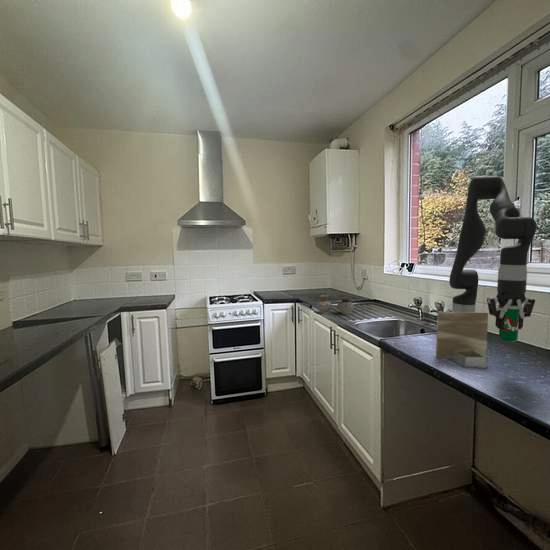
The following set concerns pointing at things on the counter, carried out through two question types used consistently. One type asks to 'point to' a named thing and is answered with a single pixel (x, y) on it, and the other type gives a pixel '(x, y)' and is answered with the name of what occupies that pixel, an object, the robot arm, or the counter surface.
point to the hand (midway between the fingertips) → (508, 328)
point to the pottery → (343, 306)
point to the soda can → (510, 324)
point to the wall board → (461, 333)
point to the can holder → (469, 359)
